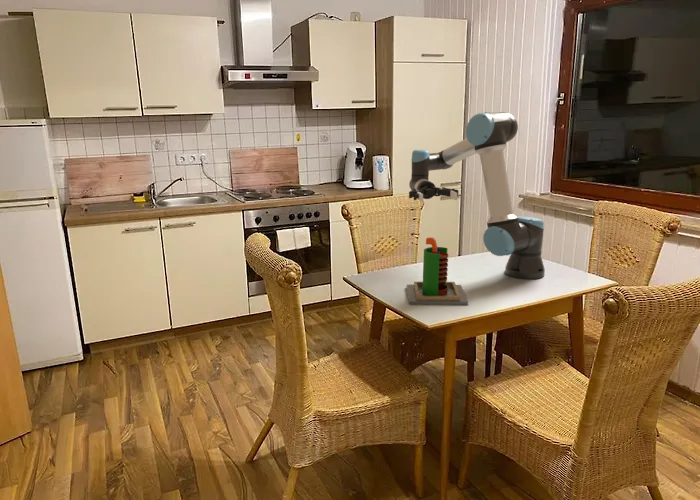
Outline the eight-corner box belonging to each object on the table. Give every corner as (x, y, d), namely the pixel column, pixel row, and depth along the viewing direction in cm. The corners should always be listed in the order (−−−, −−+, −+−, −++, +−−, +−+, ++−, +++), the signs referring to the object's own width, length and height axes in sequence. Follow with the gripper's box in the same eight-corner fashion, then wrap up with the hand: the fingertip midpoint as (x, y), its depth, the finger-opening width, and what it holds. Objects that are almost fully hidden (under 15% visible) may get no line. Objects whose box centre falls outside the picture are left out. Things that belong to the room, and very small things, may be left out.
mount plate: (460, 287, 198) (460, 280, 197) (467, 305, 180) (468, 297, 180) (407, 287, 199) (407, 280, 198) (409, 304, 182) (409, 297, 181)
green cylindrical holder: (447, 298, 184) (448, 242, 179) (421, 296, 186) (422, 241, 181) (448, 288, 193) (449, 235, 188) (423, 287, 195) (424, 234, 190)
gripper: (453, 196, 227) (470, 205, 206) (396, 198, 224) (407, 208, 204) (454, 179, 225) (470, 186, 205) (396, 181, 222) (407, 188, 202)
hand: (439, 197), depth 204 cm, fingers open, 13 cm apart
